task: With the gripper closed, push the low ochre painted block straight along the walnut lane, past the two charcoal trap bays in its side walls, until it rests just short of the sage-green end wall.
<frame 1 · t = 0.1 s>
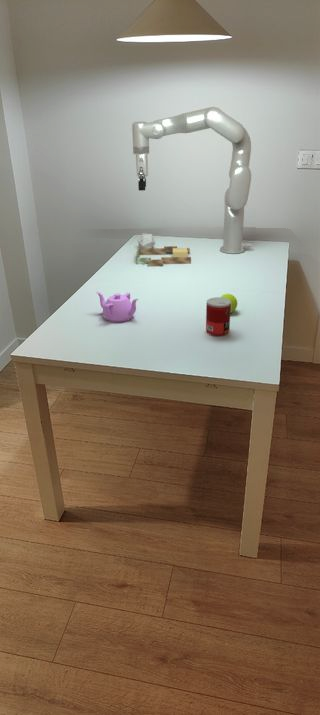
hand: (142, 188, 249), 31 cm above the table, tool pointing down, fingers open, 9 cm apart
canned food: (217, 332, 175), on the table
tennis ball: (227, 312, 190), on the table
block: (180, 259, 251), on the table
lane: (163, 258, 251), on the table
teapot: (118, 317, 188), on the table
die: (146, 249, 267), on the table
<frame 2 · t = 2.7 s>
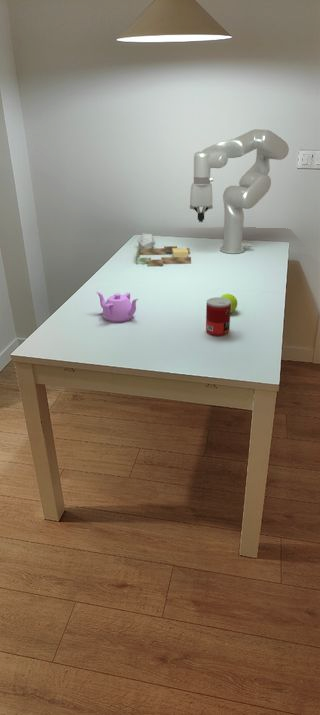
hand: (200, 221, 242), 18 cm above the table, tool pointing down, fingers closed
nothing on the table moved.
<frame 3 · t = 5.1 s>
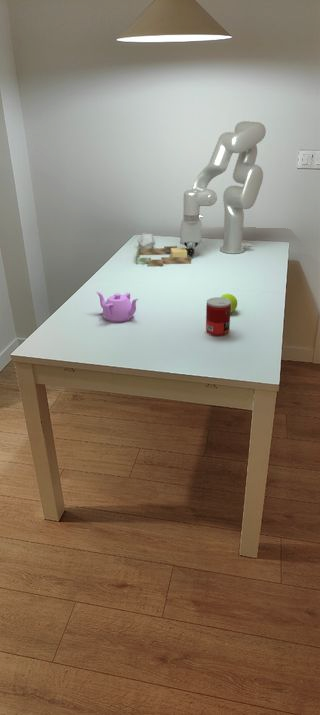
hand: (190, 256, 250), 1 cm above the table, tool pointing down, fingers closed
block: (178, 258, 251), on the table, touching gripper
everything else where it was.
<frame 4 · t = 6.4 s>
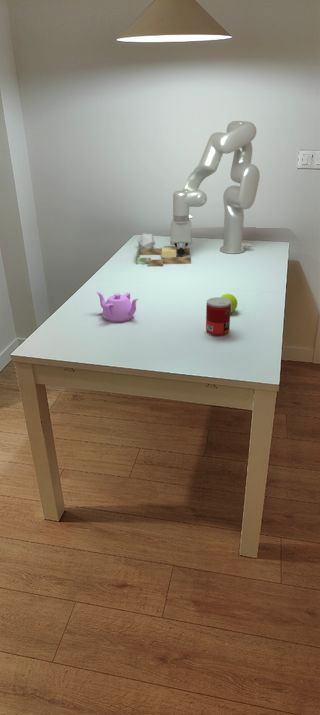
hand: (181, 256, 250), 1 cm above the table, tool pointing down, fingers closed
block: (169, 258, 253), on the table
everything else where it was.
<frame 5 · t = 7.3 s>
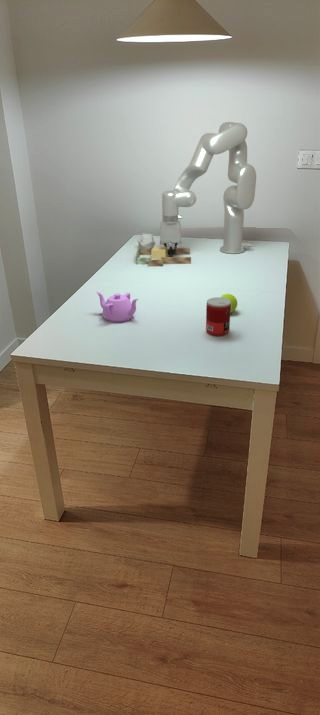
hand: (170, 256, 250), 1 cm above the table, tool pointing down, fingers closed
block: (160, 257, 254), on the table, touching gripper
everything else where it was.
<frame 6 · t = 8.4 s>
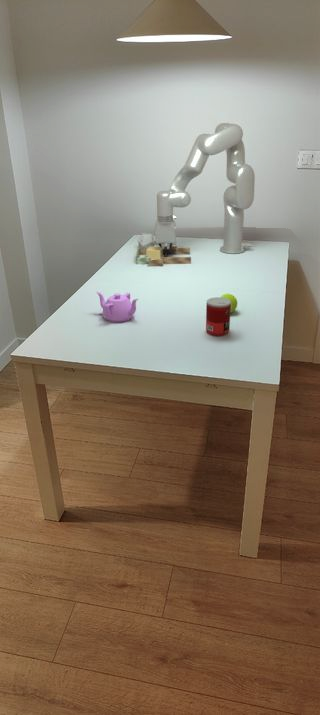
hand: (165, 256, 251), 1 cm above the table, tool pointing down, fingers closed
block: (155, 257, 254), on the table
everything else where it was.
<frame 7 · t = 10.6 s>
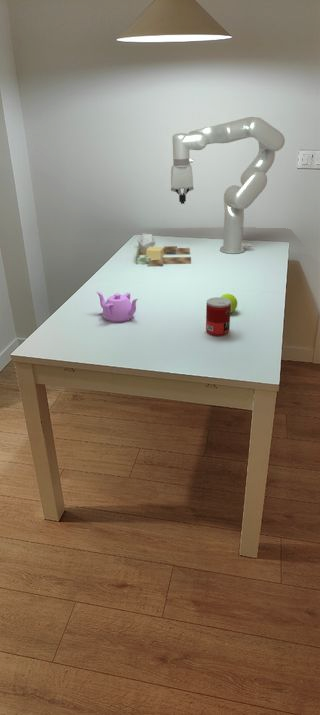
hand: (182, 203, 245), 25 cm above the table, tool pointing down, fingers closed
nothing on the table moved.
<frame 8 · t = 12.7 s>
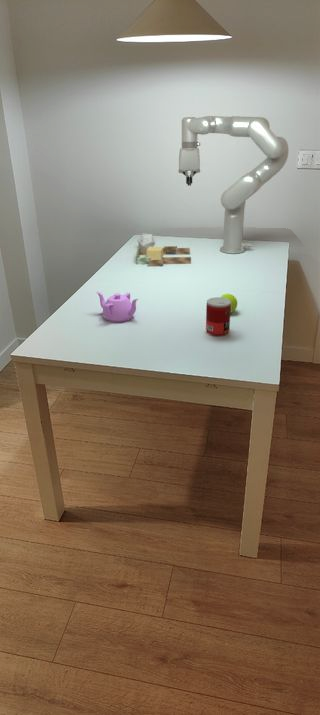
hand: (189, 185, 255), 31 cm above the table, tool pointing down, fingers closed
nothing on the table moved.
at the end: block inside the target area (3.9 cm from its centre), on the table; block moved 12.7 cm from its start; block tilted 0° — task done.
